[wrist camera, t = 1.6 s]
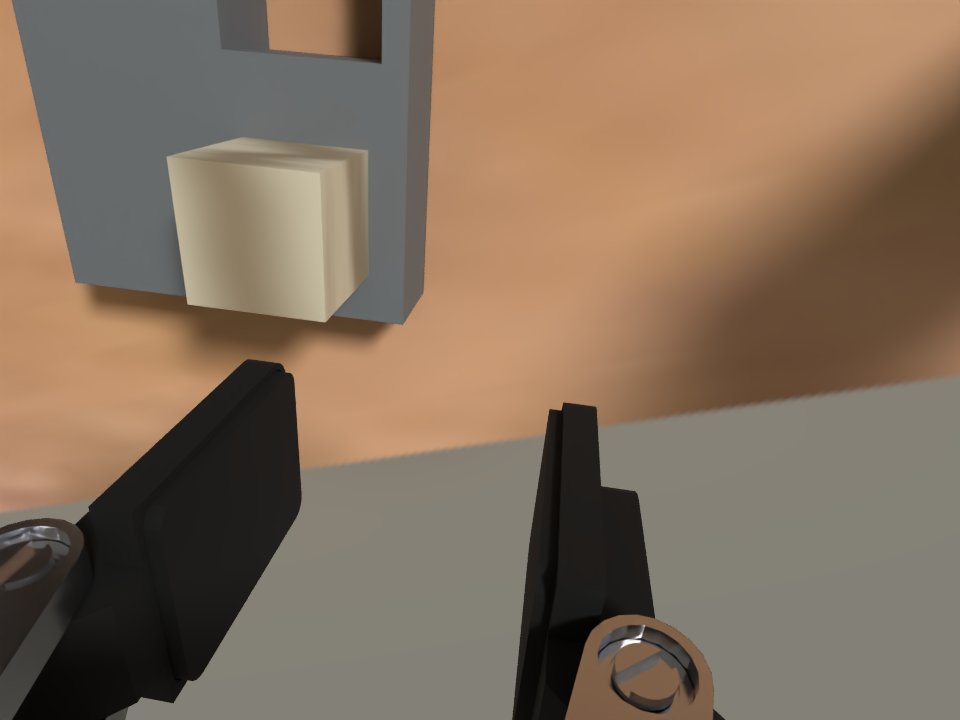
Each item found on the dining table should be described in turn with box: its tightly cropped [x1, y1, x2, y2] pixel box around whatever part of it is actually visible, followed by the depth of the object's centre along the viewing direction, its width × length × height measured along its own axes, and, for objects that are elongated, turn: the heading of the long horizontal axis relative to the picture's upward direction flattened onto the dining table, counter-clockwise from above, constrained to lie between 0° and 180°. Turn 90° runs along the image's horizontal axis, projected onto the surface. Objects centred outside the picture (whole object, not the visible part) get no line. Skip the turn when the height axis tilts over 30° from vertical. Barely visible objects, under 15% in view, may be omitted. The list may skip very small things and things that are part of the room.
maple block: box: [167, 137, 369, 322], centre depth 23 cm, size 5×5×5 cm
